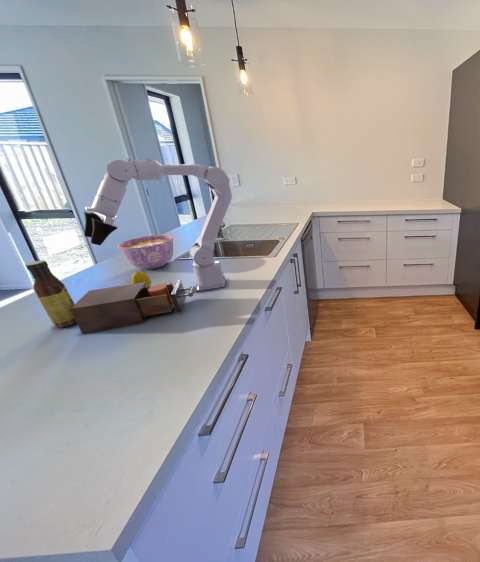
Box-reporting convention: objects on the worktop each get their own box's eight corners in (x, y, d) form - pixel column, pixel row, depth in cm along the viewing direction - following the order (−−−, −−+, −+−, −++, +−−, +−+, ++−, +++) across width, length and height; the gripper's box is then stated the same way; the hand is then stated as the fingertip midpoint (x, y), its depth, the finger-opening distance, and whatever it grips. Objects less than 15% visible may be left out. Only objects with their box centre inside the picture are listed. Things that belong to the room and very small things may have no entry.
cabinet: (153, 304, 102) (145, 282, 98) (143, 322, 91) (133, 298, 88) (99, 313, 97) (89, 290, 93) (82, 334, 86) (69, 309, 83)
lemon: (144, 294, 108) (136, 274, 105) (132, 293, 109) (124, 273, 106) (157, 288, 113) (150, 268, 110) (145, 287, 114) (138, 268, 111)
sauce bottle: (87, 319, 93) (58, 259, 85) (62, 330, 88) (29, 267, 80) (73, 316, 95) (44, 257, 87) (49, 326, 90) (14, 265, 82)
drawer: (199, 294, 106) (194, 278, 103) (195, 309, 96) (190, 291, 93) (139, 304, 100) (133, 287, 97) (129, 321, 90) (121, 302, 87)
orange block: (173, 299, 100) (168, 283, 98) (170, 306, 96) (164, 289, 93) (155, 302, 98) (149, 286, 96) (152, 309, 94) (145, 292, 92)
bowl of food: (161, 274, 126) (152, 247, 122) (115, 274, 127) (104, 248, 122) (189, 257, 145) (182, 234, 140) (148, 258, 145) (140, 235, 140)
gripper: (85, 187, 90) (68, 229, 90) (98, 198, 82) (80, 243, 82) (114, 197, 96) (98, 236, 96) (129, 208, 88) (112, 250, 88)
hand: (92, 240), depth 90 cm, fingers open, 7 cm apart
